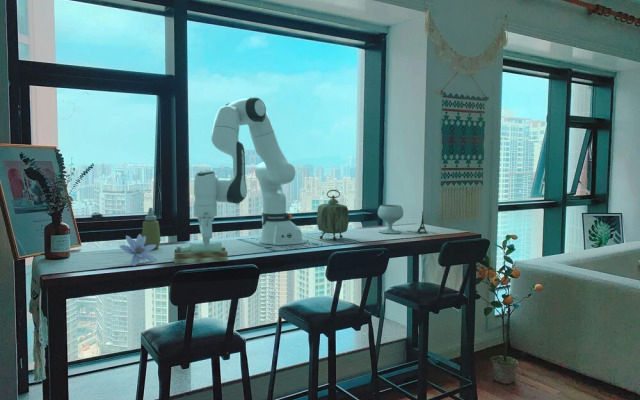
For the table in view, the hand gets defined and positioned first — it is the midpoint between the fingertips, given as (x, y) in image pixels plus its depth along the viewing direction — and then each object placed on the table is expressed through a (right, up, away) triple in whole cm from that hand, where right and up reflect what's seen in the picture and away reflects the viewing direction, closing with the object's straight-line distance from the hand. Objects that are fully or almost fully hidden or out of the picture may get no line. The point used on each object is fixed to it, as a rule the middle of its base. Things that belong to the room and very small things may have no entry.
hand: (205, 246), depth 193 cm
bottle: (-2, -4, -1) cm, 4 cm away
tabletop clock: (+52, -2, +50) cm, 72 cm away
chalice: (+84, 0, +75) cm, 113 cm away
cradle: (-2, -5, 0) cm, 5 cm away
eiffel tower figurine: (+102, 0, +78) cm, 128 cm away
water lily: (-24, -6, -8) cm, 26 cm away
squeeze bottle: (-29, -3, +21) cm, 36 cm away
